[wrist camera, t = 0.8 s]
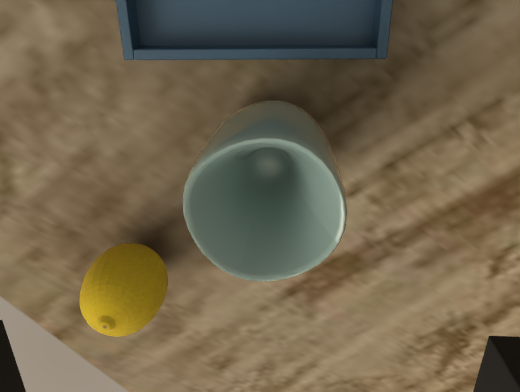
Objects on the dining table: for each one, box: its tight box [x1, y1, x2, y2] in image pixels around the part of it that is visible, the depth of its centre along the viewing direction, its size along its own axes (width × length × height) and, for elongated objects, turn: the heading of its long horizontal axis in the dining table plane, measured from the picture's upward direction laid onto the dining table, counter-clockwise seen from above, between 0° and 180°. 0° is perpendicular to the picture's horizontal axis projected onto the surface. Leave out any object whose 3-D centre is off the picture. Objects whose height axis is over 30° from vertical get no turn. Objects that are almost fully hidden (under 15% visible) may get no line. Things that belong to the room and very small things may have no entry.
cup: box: [183, 100, 347, 281], centre depth 25 cm, size 8×8×10 cm
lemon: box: [80, 243, 168, 336], centre depth 30 cm, size 6×6×8 cm
